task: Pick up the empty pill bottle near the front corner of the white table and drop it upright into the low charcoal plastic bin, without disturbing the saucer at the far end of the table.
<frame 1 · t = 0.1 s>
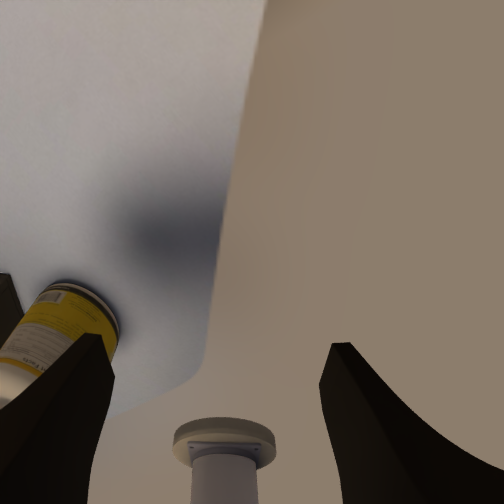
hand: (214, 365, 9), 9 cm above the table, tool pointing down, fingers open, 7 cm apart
pill bottle: (80, 316, 19), on the table
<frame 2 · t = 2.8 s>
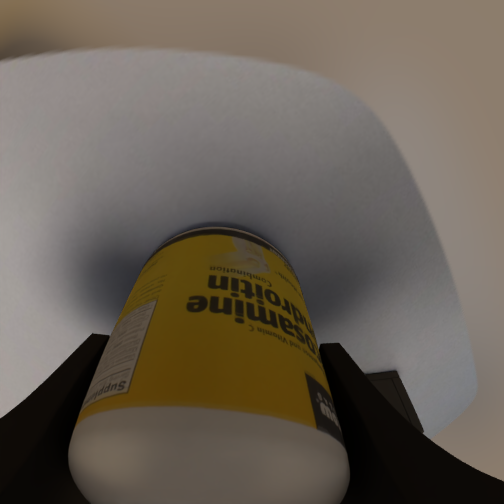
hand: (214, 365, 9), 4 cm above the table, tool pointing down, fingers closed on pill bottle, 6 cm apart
pill bottle: (218, 291, 13), on the table, touching gripper
bin: (273, 434, 18), on the table
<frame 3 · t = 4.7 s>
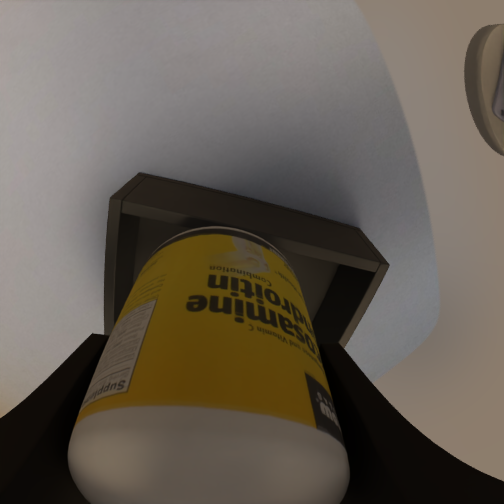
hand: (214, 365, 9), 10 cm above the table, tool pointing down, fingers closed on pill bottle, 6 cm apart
pill bottle: (218, 291, 13), point 6 cm above the table, touching gripper
bin: (228, 289, 20), on the table
when the fingers open (4 cm above the table, at t = 7.0 s): pill bottle stays where it is, resting on bin.
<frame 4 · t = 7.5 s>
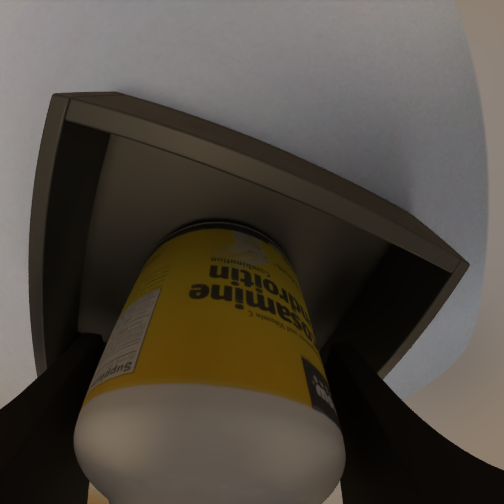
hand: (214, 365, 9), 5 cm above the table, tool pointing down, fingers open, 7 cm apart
pill bottle: (219, 284, 13), resting on bin
bin: (220, 281, 14), on the table
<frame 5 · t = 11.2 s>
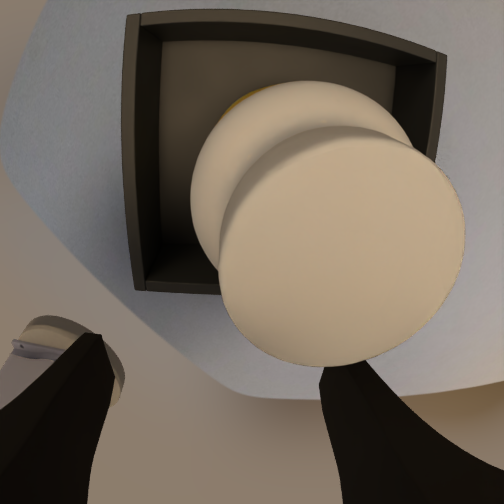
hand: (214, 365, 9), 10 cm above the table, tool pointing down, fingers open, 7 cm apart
pill bottle: (277, 148, 15), resting on bin
bin: (276, 147, 16), on the table
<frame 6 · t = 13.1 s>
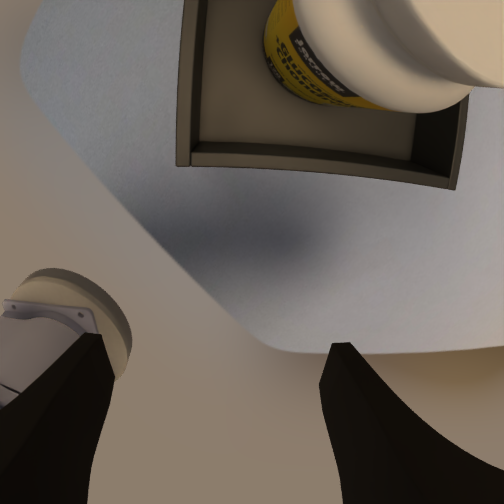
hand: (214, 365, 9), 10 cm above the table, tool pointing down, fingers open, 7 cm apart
pill bottle: (322, 49, 14), resting on bin
bin: (320, 50, 14), on the table
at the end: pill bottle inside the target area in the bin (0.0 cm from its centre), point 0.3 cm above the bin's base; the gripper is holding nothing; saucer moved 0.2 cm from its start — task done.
